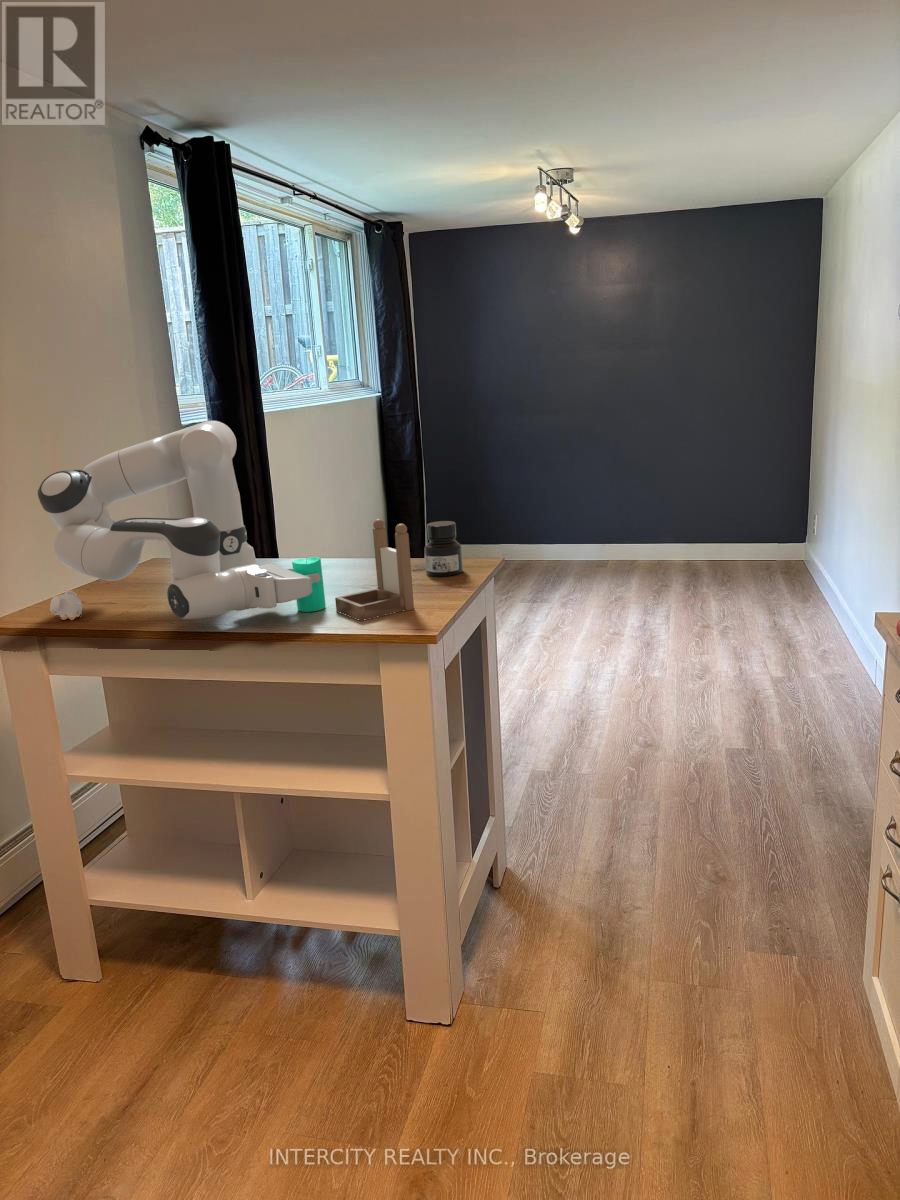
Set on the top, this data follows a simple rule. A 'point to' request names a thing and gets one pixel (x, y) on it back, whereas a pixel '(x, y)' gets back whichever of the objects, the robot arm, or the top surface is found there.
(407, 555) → the headboard
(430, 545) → the ink bottle
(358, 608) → the shallow open wooden box
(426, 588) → the top surface
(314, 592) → the candle
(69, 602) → the elephant figurine
